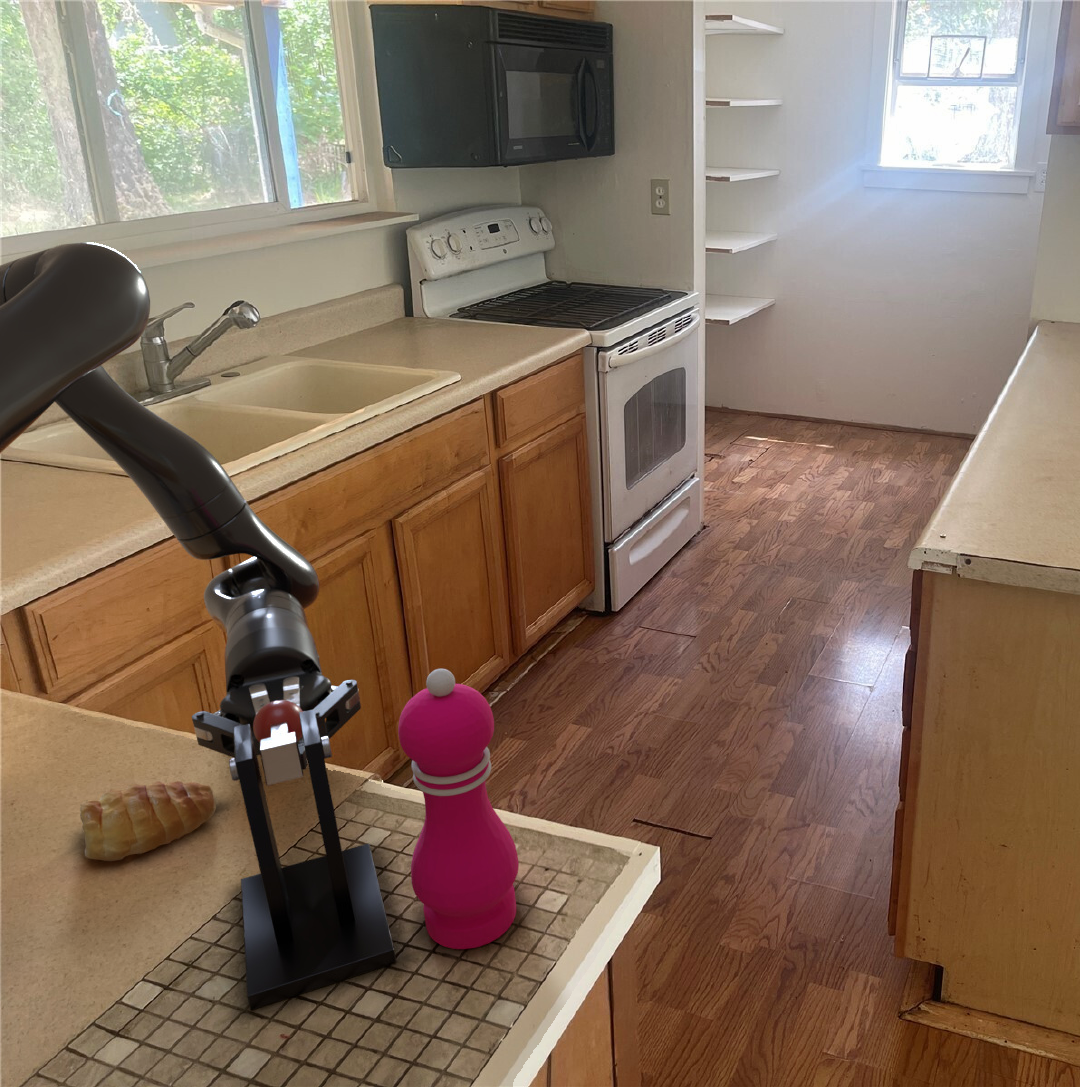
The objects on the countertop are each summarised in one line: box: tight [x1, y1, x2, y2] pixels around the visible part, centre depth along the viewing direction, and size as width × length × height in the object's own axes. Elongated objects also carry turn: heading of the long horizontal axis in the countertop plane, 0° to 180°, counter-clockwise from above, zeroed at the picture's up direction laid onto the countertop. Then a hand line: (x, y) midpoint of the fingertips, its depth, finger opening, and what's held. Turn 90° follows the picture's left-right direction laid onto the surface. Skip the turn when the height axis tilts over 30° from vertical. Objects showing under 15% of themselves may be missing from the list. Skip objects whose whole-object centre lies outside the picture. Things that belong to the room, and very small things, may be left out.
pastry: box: [79, 780, 217, 862], centre depth 80 cm, size 9×7×4 cm
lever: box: [253, 700, 304, 786], centre depth 71 cm, size 13×4×4 cm, turn 25°
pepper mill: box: [397, 668, 520, 950], centre depth 68 cm, size 7×7×20 cm
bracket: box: [228, 709, 397, 1011], centre depth 68 cm, size 12×9×16 cm
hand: (287, 769), depth 75 cm, fingers closed
